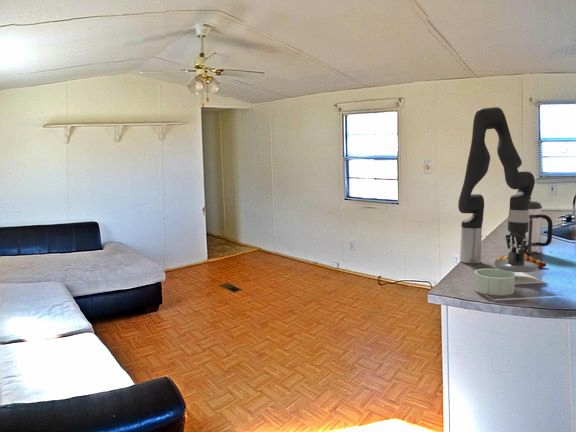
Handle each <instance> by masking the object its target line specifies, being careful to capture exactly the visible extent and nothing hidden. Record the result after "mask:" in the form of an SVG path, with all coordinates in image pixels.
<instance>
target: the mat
mask: <svg viewBox="0 0 576 432" xmlns="http://www.w3.org/2000/svg"><path fill="white" fill-rule="evenodd" d="M513 273H514V274H515V285H525V284H528V285H529V284H544V283H545V284H546V283H547V282H546V281H543V279H542V280H541V279H539V278H537V277H534V276H532V275H530V274H527V273H526V272H513Z"/></svg>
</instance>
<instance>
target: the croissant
mask: <svg viewBox="0 0 576 432" xmlns="http://www.w3.org/2000/svg"><path fill="white" fill-rule="evenodd" d="M507 259H509V254H508V255H505V256H504V255H503V256H500V257H497V258H495V260H494V261H495V262H496V261H498V260H507ZM524 261H528V262H532V263H535V264H537V265H538V269H541V268H543V267H544V268H545V267H546V266H547V263H546V262H545V261H541V259H540V260H539V259H535V258H534V257H532V256H528V253H525V256H524Z"/></svg>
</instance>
